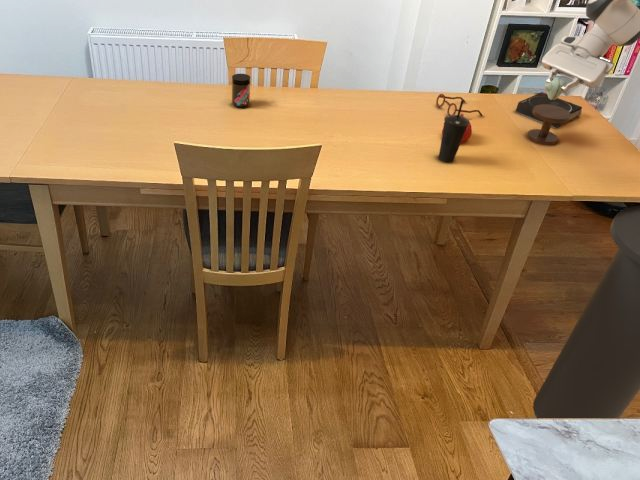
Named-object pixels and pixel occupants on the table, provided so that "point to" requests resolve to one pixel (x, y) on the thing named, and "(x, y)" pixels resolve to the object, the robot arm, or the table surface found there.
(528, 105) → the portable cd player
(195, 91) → the table surface
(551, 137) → the brown round base
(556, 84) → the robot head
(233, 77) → the supplement container
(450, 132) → the drinking cup
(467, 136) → the red tomato
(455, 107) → the glasses
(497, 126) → the table surface
